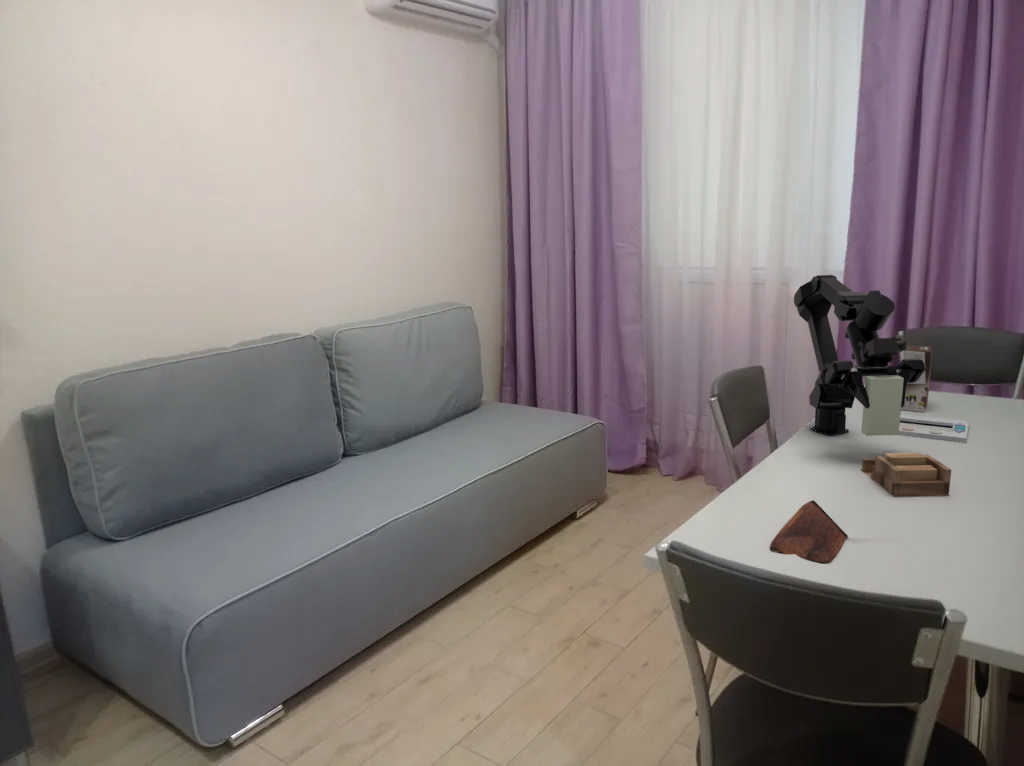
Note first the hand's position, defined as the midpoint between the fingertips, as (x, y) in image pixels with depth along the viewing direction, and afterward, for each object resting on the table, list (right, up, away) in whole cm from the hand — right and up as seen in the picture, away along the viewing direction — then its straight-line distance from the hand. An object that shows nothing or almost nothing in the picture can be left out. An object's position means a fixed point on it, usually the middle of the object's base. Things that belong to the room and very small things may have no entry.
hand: (885, 407), depth 152 cm
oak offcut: (0, -14, -7) cm, 16 cm away
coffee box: (+31, -2, +48) cm, 57 cm away
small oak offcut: (0, -15, -11) cm, 19 cm away
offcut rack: (0, -15, -6) cm, 17 cm away
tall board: (0, -6, +3) cm, 6 cm away
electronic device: (+24, -7, +29) cm, 38 cm away
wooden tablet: (-23, -21, -23) cm, 39 cm away
